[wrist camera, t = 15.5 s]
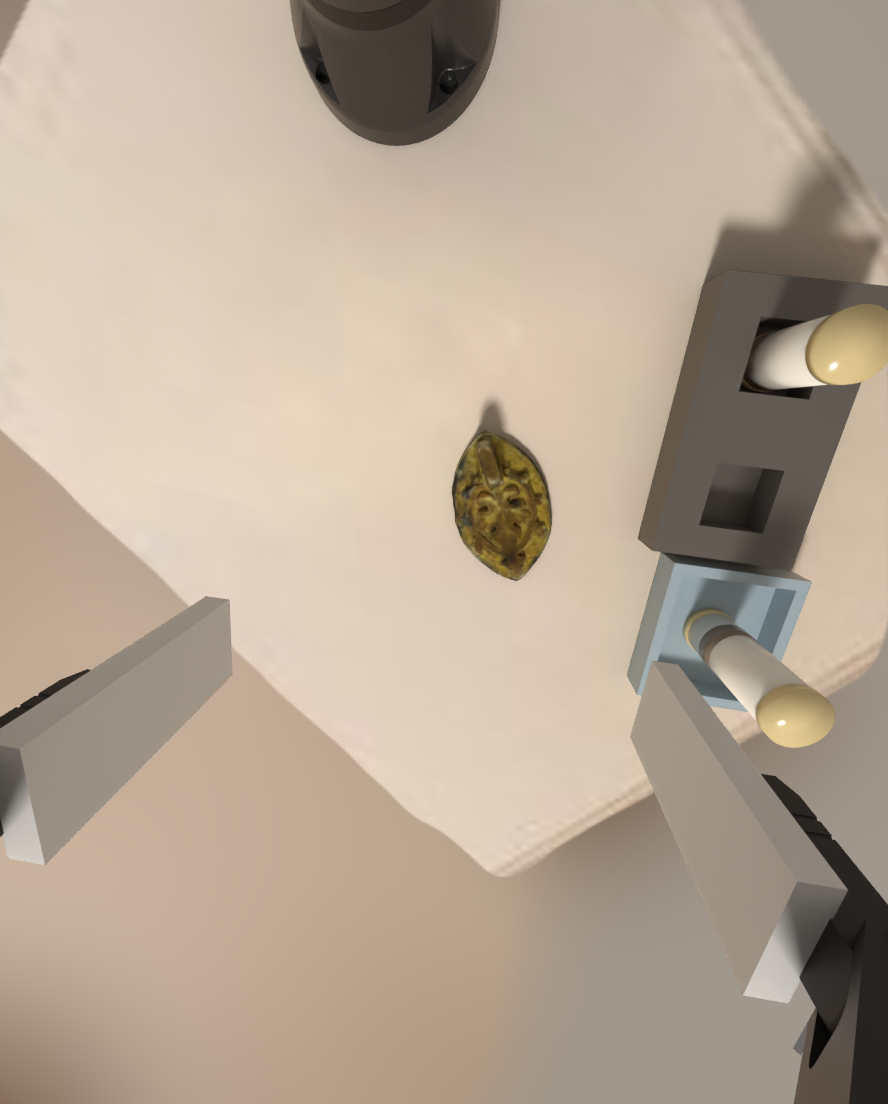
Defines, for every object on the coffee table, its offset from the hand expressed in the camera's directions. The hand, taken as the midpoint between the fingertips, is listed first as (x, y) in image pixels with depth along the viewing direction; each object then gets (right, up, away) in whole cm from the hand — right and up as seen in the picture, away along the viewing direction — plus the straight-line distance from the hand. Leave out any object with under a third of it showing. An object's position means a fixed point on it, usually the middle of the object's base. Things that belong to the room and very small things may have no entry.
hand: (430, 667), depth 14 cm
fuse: (+27, +19, +23) cm, 41 cm away
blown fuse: (+27, -4, +31) cm, 41 cm away
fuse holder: (+27, +14, +26) cm, 40 cm away
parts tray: (+27, -4, +32) cm, 42 cm away
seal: (+6, +8, +31) cm, 32 cm away
